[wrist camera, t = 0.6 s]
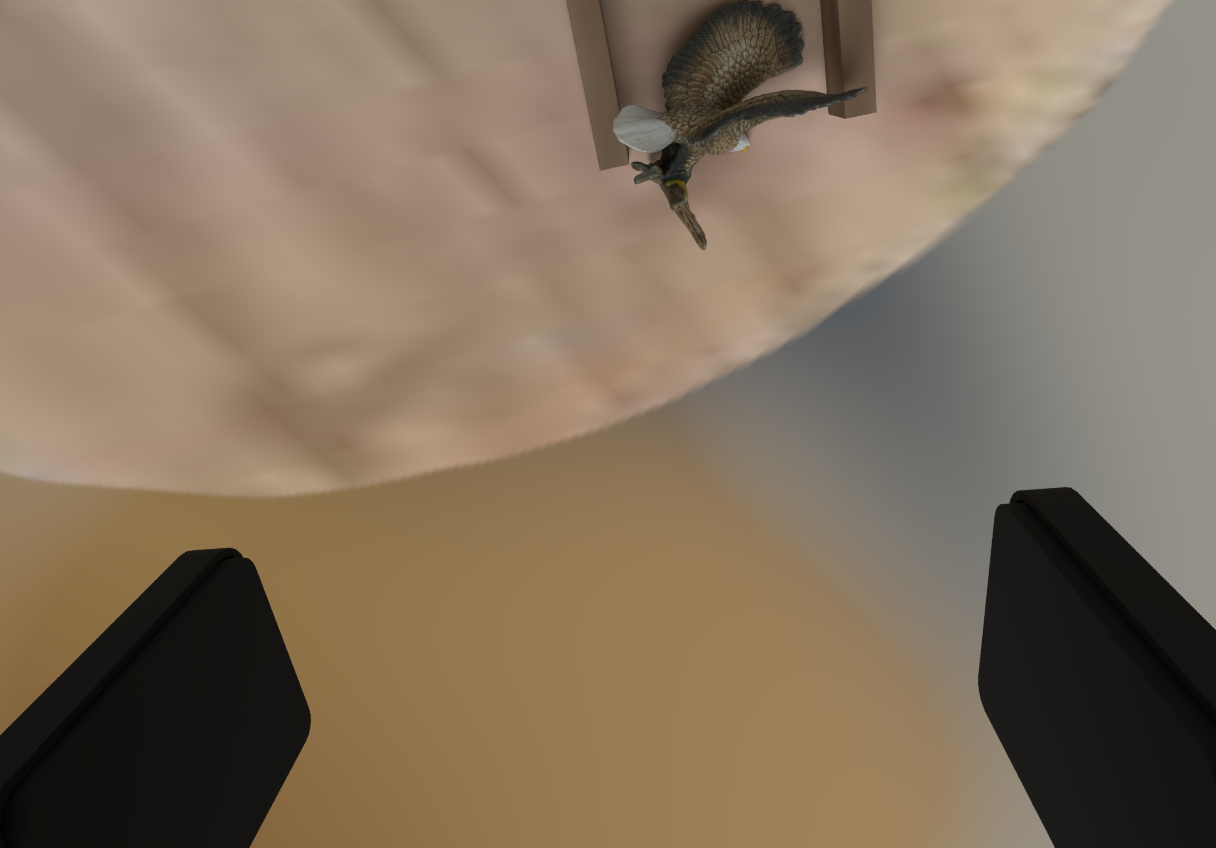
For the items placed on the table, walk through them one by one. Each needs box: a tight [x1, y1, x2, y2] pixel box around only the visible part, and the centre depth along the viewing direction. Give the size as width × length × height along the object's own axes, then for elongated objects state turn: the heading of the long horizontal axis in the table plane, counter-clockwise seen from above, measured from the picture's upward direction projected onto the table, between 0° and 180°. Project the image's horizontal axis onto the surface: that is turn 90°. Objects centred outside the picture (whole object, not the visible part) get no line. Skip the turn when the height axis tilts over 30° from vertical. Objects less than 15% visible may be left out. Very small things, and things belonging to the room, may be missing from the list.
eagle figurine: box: [613, 0, 868, 250], centre depth 32 cm, size 8×7×9 cm
